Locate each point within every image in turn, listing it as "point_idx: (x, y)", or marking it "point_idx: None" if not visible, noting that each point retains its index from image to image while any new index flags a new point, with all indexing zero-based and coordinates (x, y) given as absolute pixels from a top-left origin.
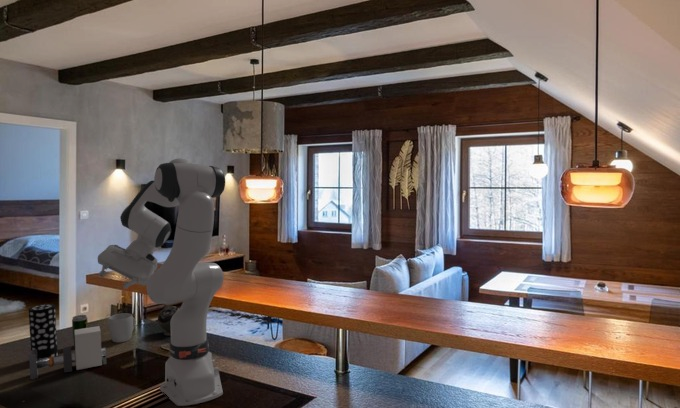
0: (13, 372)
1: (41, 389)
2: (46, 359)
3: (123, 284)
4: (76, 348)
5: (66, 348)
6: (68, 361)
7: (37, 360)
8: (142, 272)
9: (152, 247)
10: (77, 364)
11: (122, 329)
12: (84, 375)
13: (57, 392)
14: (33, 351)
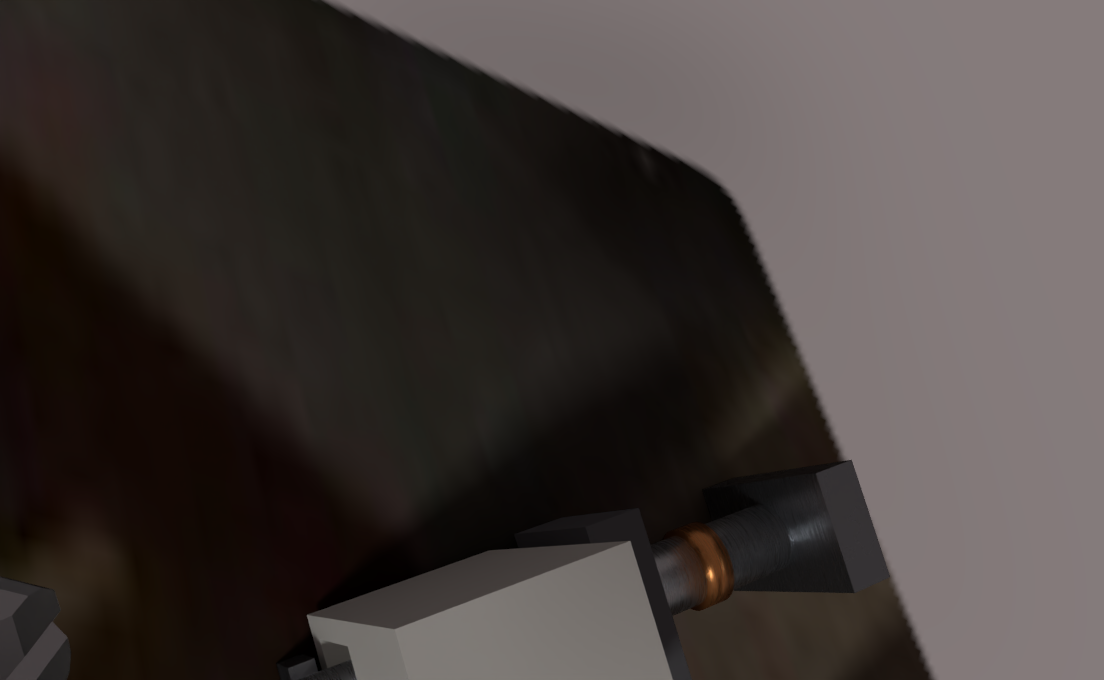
0: (882, 644)
1: (611, 292)
2: (732, 539)
3: (30, 590)
4: (557, 549)
5: None
6: (569, 524)
7: (783, 528)
8: None
9: None
10: (497, 553)
11: None
12: (402, 450)
13: (499, 206)
14: (856, 540)
